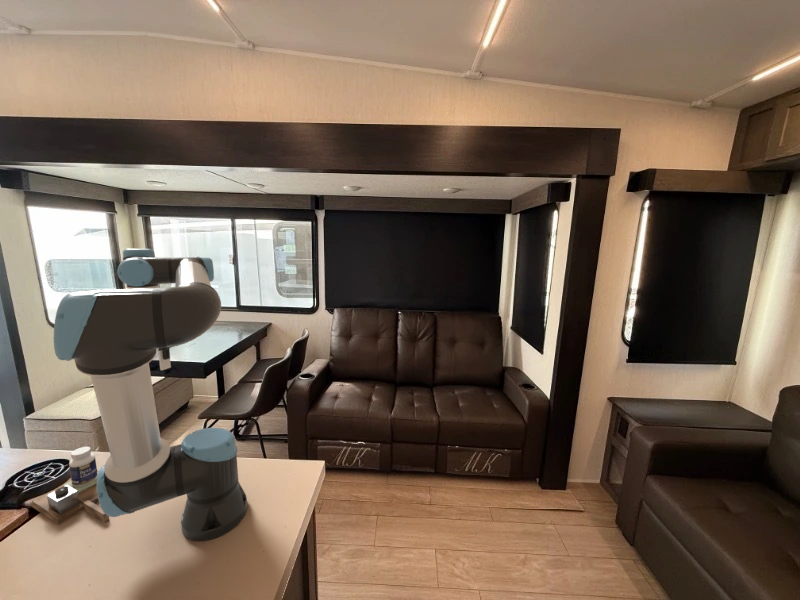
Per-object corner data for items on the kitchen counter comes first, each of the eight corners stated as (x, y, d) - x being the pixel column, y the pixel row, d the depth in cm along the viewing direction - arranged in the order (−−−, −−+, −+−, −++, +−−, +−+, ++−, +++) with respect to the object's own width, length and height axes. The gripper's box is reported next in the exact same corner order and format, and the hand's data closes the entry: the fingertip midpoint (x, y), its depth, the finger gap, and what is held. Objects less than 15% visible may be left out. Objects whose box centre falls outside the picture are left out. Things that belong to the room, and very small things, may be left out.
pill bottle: (82, 489, 91) (77, 458, 89) (67, 486, 92) (61, 455, 90) (103, 475, 96) (98, 446, 95) (88, 473, 97) (83, 443, 96)
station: (143, 497, 91) (142, 490, 91) (79, 538, 78) (78, 530, 78) (95, 472, 100) (94, 465, 99) (30, 506, 87) (29, 498, 87)
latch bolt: (79, 503, 87) (76, 487, 86) (59, 515, 83) (56, 498, 82) (69, 497, 89) (66, 481, 88) (49, 508, 85) (46, 491, 84)
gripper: (184, 301, 98) (189, 367, 102) (132, 294, 108) (139, 355, 111) (157, 305, 92) (165, 376, 95) (105, 297, 101) (114, 362, 105)
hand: (151, 365), depth 103 cm, fingers open, 13 cm apart
